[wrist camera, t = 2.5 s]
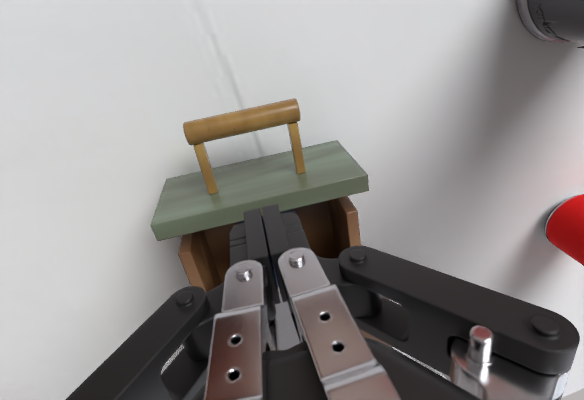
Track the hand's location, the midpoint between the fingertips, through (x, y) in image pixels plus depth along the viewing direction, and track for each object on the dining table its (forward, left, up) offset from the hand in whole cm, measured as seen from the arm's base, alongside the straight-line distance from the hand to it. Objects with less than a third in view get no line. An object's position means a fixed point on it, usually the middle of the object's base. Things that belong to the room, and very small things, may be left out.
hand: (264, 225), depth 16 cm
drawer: (+5, +5, -13) cm, 15 cm away
